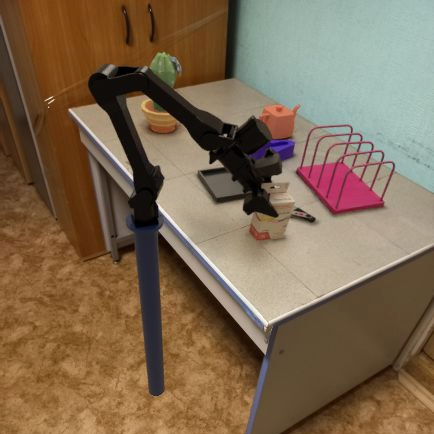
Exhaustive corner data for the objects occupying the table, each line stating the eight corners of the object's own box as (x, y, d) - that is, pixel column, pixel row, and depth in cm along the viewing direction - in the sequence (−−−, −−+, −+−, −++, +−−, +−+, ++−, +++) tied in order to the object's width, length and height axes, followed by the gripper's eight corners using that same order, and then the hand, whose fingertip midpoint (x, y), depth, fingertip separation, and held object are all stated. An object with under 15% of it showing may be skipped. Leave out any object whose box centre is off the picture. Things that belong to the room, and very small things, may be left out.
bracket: (254, 169, 139) (259, 135, 131) (239, 154, 146) (243, 120, 137) (300, 160, 145) (307, 127, 137) (283, 146, 152) (289, 113, 143)
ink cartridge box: (256, 242, 111) (269, 193, 101) (248, 231, 114) (260, 182, 104) (284, 238, 114) (299, 190, 104) (275, 227, 117) (289, 180, 107)
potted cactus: (178, 139, 150) (178, 63, 133) (136, 133, 151) (131, 57, 134) (187, 121, 161) (188, 49, 144) (148, 116, 162) (144, 43, 145)
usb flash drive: (316, 220, 120) (316, 217, 120) (304, 227, 118) (305, 224, 117) (292, 207, 125) (293, 204, 124) (281, 213, 122) (281, 210, 121)
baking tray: (216, 203, 124) (216, 198, 122) (197, 175, 134) (197, 170, 133) (274, 193, 130) (275, 188, 128) (252, 167, 140) (252, 162, 139)
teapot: (248, 130, 159) (252, 102, 152) (287, 123, 166) (292, 96, 158) (264, 144, 152) (269, 115, 145) (305, 136, 159) (311, 108, 151)
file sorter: (341, 166, 144) (354, 121, 133) (383, 207, 128) (403, 159, 117) (295, 171, 140) (305, 125, 128) (333, 215, 123) (349, 166, 112)
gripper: (262, 164, 90) (304, 213, 97) (267, 126, 103) (304, 172, 110) (224, 192, 96) (266, 236, 103) (233, 153, 109) (270, 194, 116)
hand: (278, 208), depth 108 cm, fingers closed on ink cartridge box, 7 cm apart
